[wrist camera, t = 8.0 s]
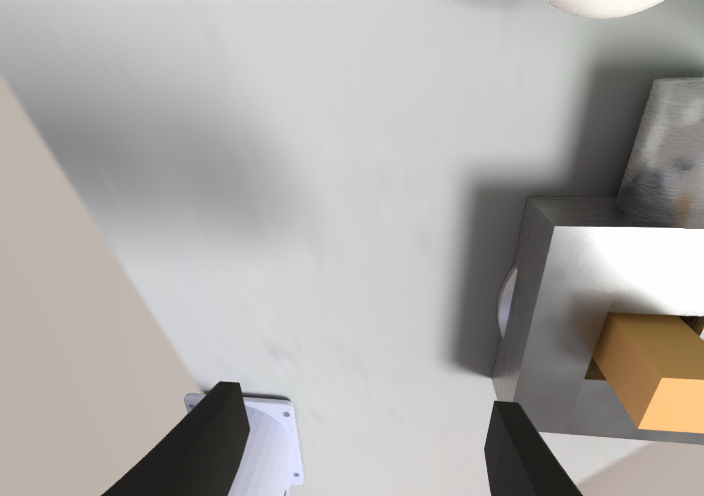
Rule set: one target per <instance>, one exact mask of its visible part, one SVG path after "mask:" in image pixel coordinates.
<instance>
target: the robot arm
mask: <svg viewBox="0 0 704 496" xmlns="http://www.w3.org/2000/svg"><path fill="white" fill-rule="evenodd" d="M184 402H185V405H186V408H187V411H188V414H187V415H186V416H185V417H184V418H183V419H182V420H181V421H180V423H179V424H177V426H175V427H174V428H173V429H172V430H171V431H170V432H169V433H168V434H167V435H166V437H164V438H163V439H162V440H161V441H160V442H159V443H158V444H157V445H156V446H155V447H154V448H153V449H152V450H151V451H150V452H149V453H148V454H147V455H146V456H145V457H144V458H142V460H140V461H139V462H138V463H137V464H136V465H135V466H134V467H133V468H132V469H130V470H129V471H128V472H127V473H126V474H125V475H124V476H123V477H122V478H121V479H120V480H118V481H117V482H116V483H115V484H114V485H113V486H112V487H110V489H108V490H107V491H106V492H105V493H104V494H102V495H101V496H288V494H289V490H290V486H291V485H295V486H300V485H302V484H303V483H304V473H303V466H302V459H301V453H300V446H299V439H298V433H297V426H296V419H295V413H294V406H293V404H292V403H291V402H290V401H287V400H276V399H263V398H250V397H243V396H242V391H241V387H240V383H236V382H222V381H220V382H219V383H217V384H216V385H215V386H214V387H213V388H212V389H211V390H210V391H209V393H208V394H196V393H189V394H187V395H186V397H185V398H184ZM484 451H485V459H486V466H487V473H488V479H489V486H490V492H491V496H583V495H582V494H581V492H580V491H579V490H578V488H577V487H576V485H575V484H574V483H573V481H572V480H571V479H570V477H569V476H568V475H567V473H566V472H565V470H564V469H563V468H562V466H561V465H560V463H559V462H558V461H557V459H556V458H555V456H554V455H553V453H552V452H551V450H550V449H549V448H548V446H547V445H546V443H545V442H544V440H543V439H542V437H541V436H540V434H539V433H538V431H537V430H536V428H535V427H534V425H533V423H532V422H531V420H530V419H529V417H528V416H527V414H526V413H525V411H524V409H523V408H522V406H521V405H520V404H519V403H518V402H505V401H494V405H493V409H492V414H491V419H490V424H489V429H488V433H487V438H486V443H485V448H484Z"/></svg>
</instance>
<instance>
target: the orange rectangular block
mask: <svg viewBox="0 0 704 496" xmlns="http://www.w3.org/2000/svg"><path fill="white" fill-rule="evenodd" d="M592 357H593V359H594V361H595V362H596V364H597V365H598V367H599V368H600V370H601V372H602V373H603V375H604V376H605V378H606V379H607V381H608V383H609V384H610V386H611V387H612V389H613V391H614V392H615V394H616V395H617V397H618V398H619V400H620V402H621V403H622V405H623V406H624V408H625V409H626V411H627V413H628V414H629V416H630V417H631V419H632V420H633V422H634V424H635V425H636V427H637V428H638V429H647V430H662V431H676V432H691V433H704V340H703V339H702V338H701V337H700V336H698V335H697V334H696V333H695V332H694V331H693V330H692V329H691V328H690V327H689V326H688V325H687V324H686V323H685V322H684V321H683V320H681V319H680V318H679V317H678V316H677V315H662V314H639V313H615V312H608V313H607V316H606V318H605V321H604V324H603V327H602V330H601V333H600V335H599V338H598V341H597V344H596V347H595V349H594V352H593V355H592Z"/></svg>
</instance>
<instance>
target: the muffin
mask: <svg viewBox="0 0 704 496" xmlns="http://www.w3.org/2000/svg"><path fill="white" fill-rule="evenodd" d="M546 1H547V2H549V3H550V4H552V5H553V6H555V7H557V8H559V9H561V10H563V11H565V12H567V13H570V14H573V15H576V16H582V17H587V18H596V19H607V18H617V17H622V16H627V15H631V14H634V13H637V12H640V11H643V10H645V9H647V8H650V7H652V6H654V5H656V4H658V3H660V2H662V1H664V0H546Z"/></svg>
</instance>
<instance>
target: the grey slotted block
mask: <svg viewBox="0 0 704 496" xmlns="http://www.w3.org/2000/svg"><path fill="white" fill-rule="evenodd" d="M608 312H615V313H639V314H662V315H677V316H678V317H679V318H680V319H681V320H683V321H684V322H685V323H686V324H687V325H688V326H689V327H690V328H691V329H692V330H693V331H694V332H695V333H696V334H697V335H698V336H700V337H701V338H702V339H703V340H704V77H684V78H662V79H655V80H654V82H653V85H652V88H651V92H650V95H649V98H648V101H647V104H646V107H645V111H644V114H643V117H642V120H641V123H640V127H639V130H638V133H637V136H636V139H635V143H634V146H633V149H632V152H631V155H630V158H629V162H628V165H627V168H626V171H625V174H624V178H623V181H622V184H621V187H620V190H619V193H618V197H567V196H528V197H527V202H526V207H525V212H524V218H523V223H522V228H521V233H520V238H519V243H518V248H517V253H516V258H515V263H514V265H513V267H512V268H511V270H510V271H509V273H508V275H507V276H506V278H505V280H504V282H503V285H502V287H501V290H500V293H499V297H498V303H497V321H498V325H499V329H500V332H501V335H500V340H499V345H498V350H497V355H496V360H495V365H494V370H493V375H492V382H493V386H494V389H495V393H496V396H497V400H498V401H505V402H518V403H519V404H520V405H521V406H522V408H523V409H524V411H525V413H526V414H527V416H528V417H529V419H530V420H531V422H532V423H533V425H534V427H535V428H536V430H537V431H538V432H548V433H560V434H573V435H586V436H598V437H611V438H624V439H636V440H649V441H663V442H676V443H688V444H700V445H704V433H691V432H676V431H662V430H647V429H638V428H637V427H636V425H635V424H634V422H633V420H632V419H631V417H630V416H629V414H628V413H627V411H626V409H625V408H624V406H623V405H622V403H621V402H620V400H619V398H618V397H617V395H616V394H615V392H614V391H613V389H612V387H611V386H610V384H609V383H608V381H607V379H606V378H605V376H604V375H603V373H602V372H601V370H600V368H599V367H598V365H597V364H596V362H595V361H594V359H593V357H592V355H593V352H594V349H595V347H596V344H597V341H598V338H599V335H600V333H601V330H602V327H603V324H604V321H605V318H606V316H607V313H608Z"/></svg>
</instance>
